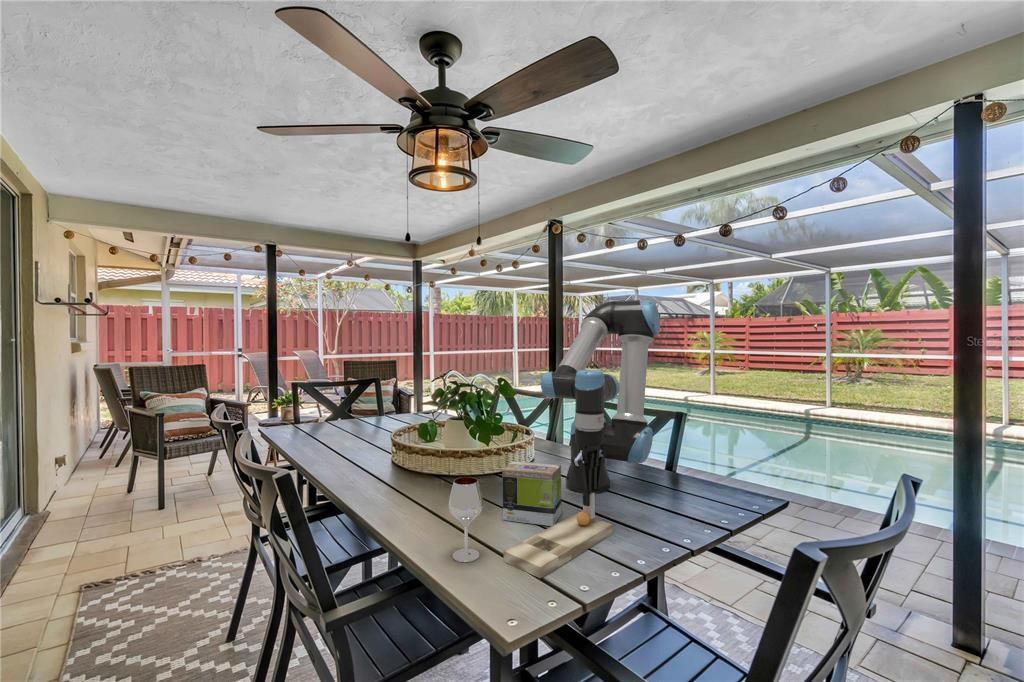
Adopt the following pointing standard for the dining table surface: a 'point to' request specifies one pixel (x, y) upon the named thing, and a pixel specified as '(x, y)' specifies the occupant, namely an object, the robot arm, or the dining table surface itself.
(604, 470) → the robot arm
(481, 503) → the wineglass
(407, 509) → the dining table surface
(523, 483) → the tea box
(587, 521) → the ball
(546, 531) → the board
